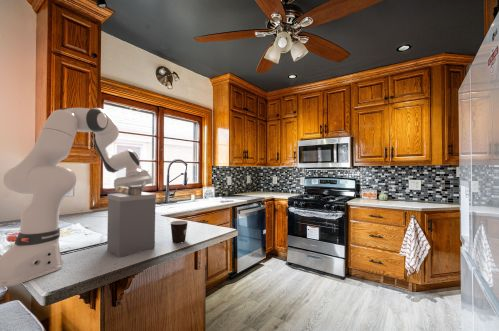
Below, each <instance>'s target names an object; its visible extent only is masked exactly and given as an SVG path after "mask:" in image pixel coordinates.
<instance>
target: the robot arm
mask: <svg viewBox="0 0 499 331" xmlns="http://www.w3.org/2000/svg"><path fill="white" fill-rule="evenodd" d="M77 132H78V133H79V132H80V133H94V135H95V137H93V144H94V146H95V149H96V152H97V153H98V155H99V157H100V159H101V161H102V163H103V166H104V169H105V170H106V171H107V172H109V173H112V174H115V173H116V172H119V171H120V170H123V169H125V176H121V177H117V178H115V179H114V180H113V187H114V189H115V190H116V186H124V187H128V186H142V189H143V188H145V187H146V186H147V185H150V184H153V183H154V182H153V180H154V179H153V176H152V174H151V173H150V171H149V169H142V166H141V163H140V162H141V161H140V158H139V156H138V154H137V153H136V152H135V151H134V150H132V149H127V150H126V149H125V150H124V151H123V150H122V151H120V152H118V153H115V154H112V155H110V154H109V153H108V151H107V148H108V146H110V145H112V144H113V143H114V142H115V141H116V140H117V139H118V138H119V133H120V131H119V127H118V126H117V124H116V123H115V121H114V120H113V118H112V117H111V116H110V115H109V113H107V112H106V111H105V110H104V109H102V108H100V107H94V108H93V107H92V108H87V107H64V108H61V109H56V110H54V111H52V112H51V114H50V115H49V116H48V118H47V119H46V120H45V122H44V124H43V126H42V128H41V131H40V133H39V134H38V137H37V139H36V142H35V144H34V146H33V147H32V149H31V151H29V153H28V154H27V155H26V156H25V157H24V158H23V159H22V161H20V162H19V163H18V164H17V165H16V166H14V167H12V168H10V169H8V170H7V171H6V172H5V174H4V176H3V184H4V186H5V187H6V188H7V189H8V190H9V191H12V192H15V193H19V194H23V195H24V194H25V195H32V197H31V198H32V199H31V201H30V203H29V205H28V206H26V207H25V208H23V209H22V210H21V212H20V231H19V233H18V235H17V236H16V235H10V236H8V237H7V238H6V241H7V242H9V243H14V244H13V245H12V246H11V247H9V248H8V249H7V250H6V251H5V252H4V253H3V254H2V255H0V288H7V287H13V286H17V285H20V284H22V283H25V282H29V281H31V280H34V279H36V278H40V277H42V276H45V275H48V274H51V273H53V272H56V271H59V270H61V269H62V267H63V266H62V265H63V264H64V260H63V258H62V255H61V250H60V240H59V239H60V236H61V230H60V227H59V219H60V209H61V205H62V203H63V200H64V199H65V197H66V196H67V195H68V194H69V193H70V192H71V191H72V190H74V188H75V186H76V185H77V176H76V173H75V172H74V171H73V170H72V169H71V168H66V167H63V166H59V165H58V164H59V163H60V162H62V161H64V160H66V159H67V158H68V156H70V153H71V150H72V147H73V144H74V141H75V138H76V135H77Z"/></svg>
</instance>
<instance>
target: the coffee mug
mask: <svg viewBox="0 0 499 331" xmlns="http://www.w3.org/2000/svg"><path fill="white" fill-rule="evenodd" d="M187 230H188V221H187V220H174V221H173V220H172V221H171V222H170V232H171V240H172V243H173V244H182V243H181V242H183V243H185V242H186V239H187V238H186V237H187ZM184 241H185V242H184Z"/></svg>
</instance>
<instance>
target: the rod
mask: <svg viewBox="0 0 499 331" xmlns="http://www.w3.org/2000/svg"><path fill="white" fill-rule="evenodd" d="M142 189H143V188H142V186H141V185H140V186H128V187H124V186H116V189H115V192H117V193H126V194H128V195H142V192H143V191H142Z"/></svg>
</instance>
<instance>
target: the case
mask: <svg viewBox="0 0 499 331" xmlns="http://www.w3.org/2000/svg"><path fill="white" fill-rule="evenodd" d="M106 197H107V234H106V235H107V237H106V238H107V239H106V240H107V241H106V243H107V244H106V245H107V247H106V248H107V250H108V252H110V253H112V254H113V255H115V256H117V258H122V257H126V256H129V255H135V254H138V253H141V252H145V251H151V250H154V249H155V245H156V199H157V193H151V192H147V191H142V195H128V194H126V193H121V192H117V193H107V196H106Z"/></svg>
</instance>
